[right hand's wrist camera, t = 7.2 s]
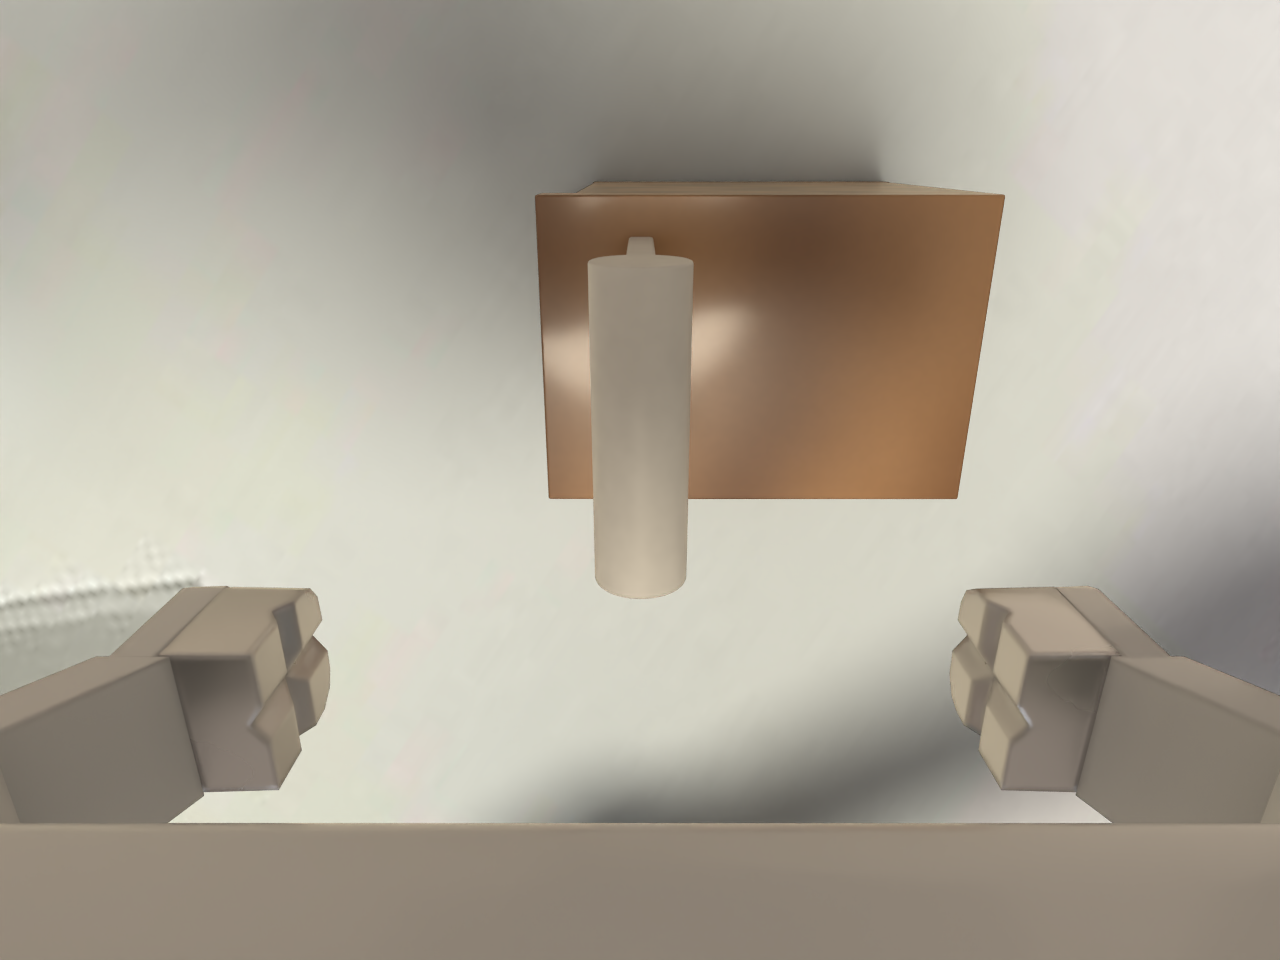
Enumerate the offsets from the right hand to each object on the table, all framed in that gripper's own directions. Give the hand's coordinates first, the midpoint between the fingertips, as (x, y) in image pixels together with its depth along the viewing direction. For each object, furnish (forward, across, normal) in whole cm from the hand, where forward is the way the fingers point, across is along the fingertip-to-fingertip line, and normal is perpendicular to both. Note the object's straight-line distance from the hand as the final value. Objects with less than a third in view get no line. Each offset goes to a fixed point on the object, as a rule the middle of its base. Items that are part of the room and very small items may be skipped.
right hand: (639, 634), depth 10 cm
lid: (+16, +4, 0) cm, 17 cm away
